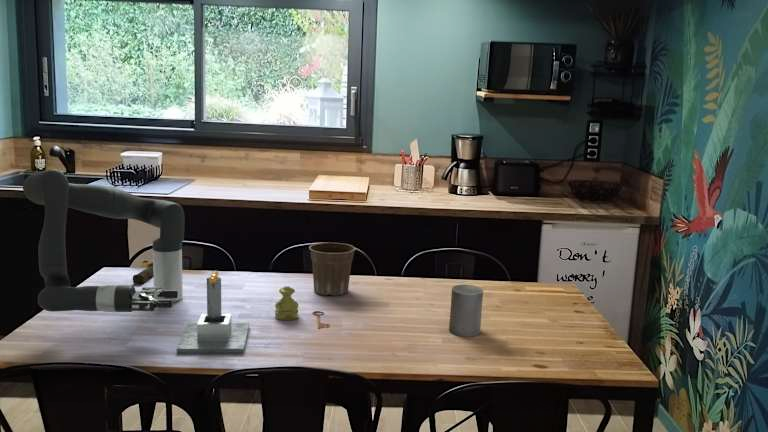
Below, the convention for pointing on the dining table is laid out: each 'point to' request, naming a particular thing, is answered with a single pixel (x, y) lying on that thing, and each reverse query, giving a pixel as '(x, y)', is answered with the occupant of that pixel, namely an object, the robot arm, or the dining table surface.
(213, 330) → the candle holder
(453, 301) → the pillar candle
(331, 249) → the plant pot
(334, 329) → the dining table surface
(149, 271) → the hand tool
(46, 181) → the robot arm
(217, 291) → the silver grey upright block
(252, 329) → the dining table surface
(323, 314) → the key
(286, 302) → the green scale weight
